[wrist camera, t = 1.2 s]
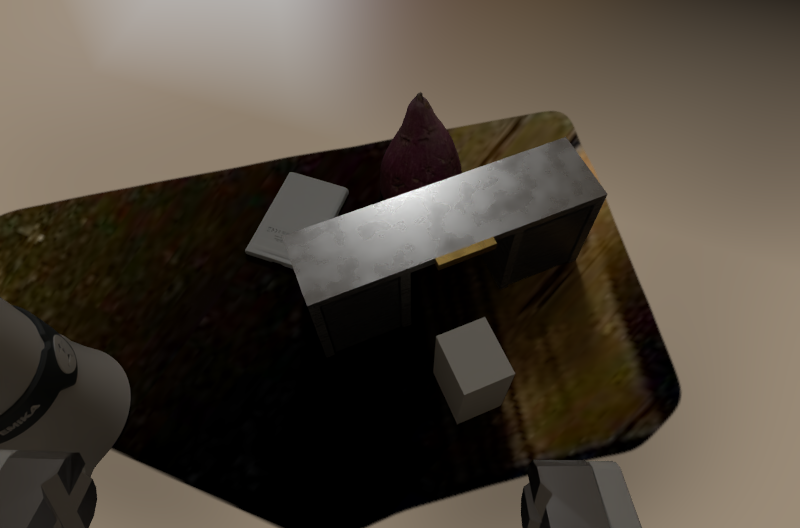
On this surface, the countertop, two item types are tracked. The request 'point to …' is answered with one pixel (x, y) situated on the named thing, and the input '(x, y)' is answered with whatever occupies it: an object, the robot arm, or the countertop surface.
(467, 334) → the tall grey upright block
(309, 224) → the external hard drive
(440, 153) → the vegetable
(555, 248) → the miniature grey desk
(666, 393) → the countertop surface
